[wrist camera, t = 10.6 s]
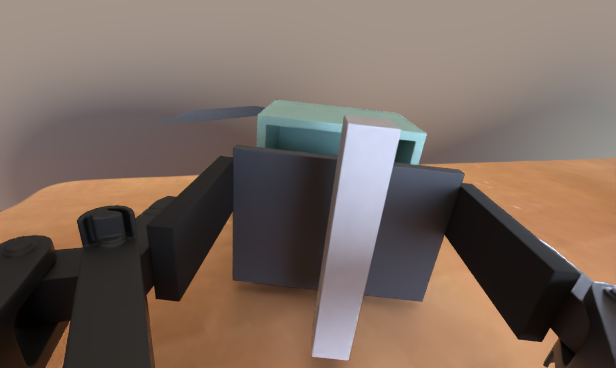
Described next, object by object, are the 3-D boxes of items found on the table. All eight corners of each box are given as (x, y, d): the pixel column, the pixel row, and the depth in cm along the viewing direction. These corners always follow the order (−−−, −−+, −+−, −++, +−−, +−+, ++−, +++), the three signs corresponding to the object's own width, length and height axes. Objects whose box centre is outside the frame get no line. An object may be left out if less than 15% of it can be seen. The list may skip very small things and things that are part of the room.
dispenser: (396, 249, 22) (427, 133, 19) (253, 233, 22) (257, 114, 19) (378, 202, 30) (397, 113, 26) (270, 190, 30) (275, 99, 26)
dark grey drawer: (454, 377, 13) (557, 146, 9) (204, 349, 13) (192, 105, 9) (392, 229, 24) (424, 98, 20) (259, 214, 24) (265, 80, 20)
